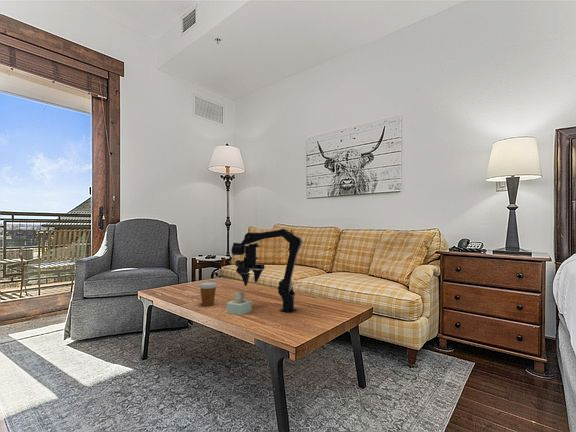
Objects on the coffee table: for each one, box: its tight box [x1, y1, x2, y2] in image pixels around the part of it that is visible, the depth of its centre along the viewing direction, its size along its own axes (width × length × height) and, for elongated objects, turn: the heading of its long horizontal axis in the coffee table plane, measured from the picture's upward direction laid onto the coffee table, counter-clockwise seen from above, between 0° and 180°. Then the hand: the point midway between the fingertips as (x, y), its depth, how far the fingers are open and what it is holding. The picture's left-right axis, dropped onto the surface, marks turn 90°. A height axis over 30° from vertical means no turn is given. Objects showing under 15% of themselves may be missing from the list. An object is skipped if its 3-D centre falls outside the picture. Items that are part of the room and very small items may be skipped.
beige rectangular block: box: [233, 290, 246, 304], centre depth 160 cm, size 4×4×10 cm
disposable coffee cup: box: [199, 281, 218, 307], centre depth 173 cm, size 10×10×12 cm
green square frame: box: [226, 299, 253, 316], centre depth 160 cm, size 9×9×5 cm
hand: (250, 284), depth 167 cm, fingers open, 9 cm apart
